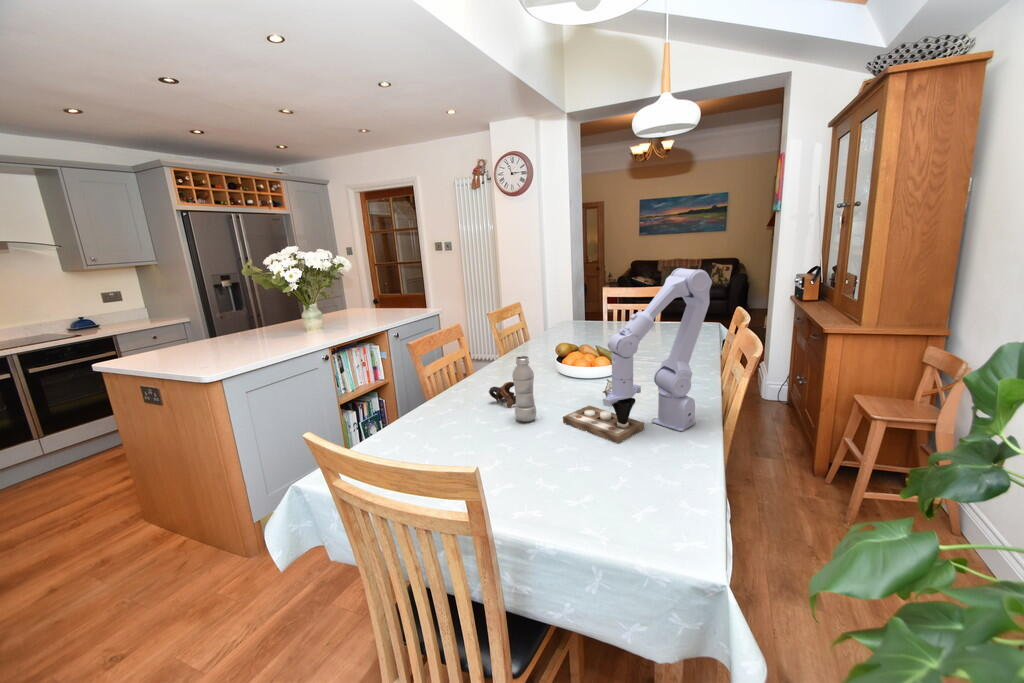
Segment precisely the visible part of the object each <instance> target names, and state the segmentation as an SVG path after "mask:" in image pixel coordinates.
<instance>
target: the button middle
mask: <svg viewBox="0 0 1024 683" xmlns="http://www.w3.org/2000/svg"><path fill="white" fill-rule="evenodd" d="M611 412H612V411H609V412H608V410H606V411H602V412H600V420H602V421H605V422H608V421H610V420H611Z"/></svg>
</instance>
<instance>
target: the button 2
mask: <svg viewBox="0 0 1024 683" xmlns="http://www.w3.org/2000/svg"><path fill="white" fill-rule="evenodd" d="M617 426H620V427H623V428H625V427H627V426H629V423H628V422H627V423H626V424H621V423H618V422H617Z"/></svg>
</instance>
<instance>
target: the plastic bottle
mask: <svg viewBox="0 0 1024 683" xmlns="http://www.w3.org/2000/svg"><path fill="white" fill-rule="evenodd" d="M515 364H516V366H515V367H514V369H513V370H512V375H511V377H512V382H514V386H513V387H514V395H515V396H516V404H515V406H514V415H515V418H516V419H517V421H519V422H523V423H525V422H531V421H534V420H535V419H536V417H537V413H538V412H537V407H536V403H535V397H534V380H535V372H534V370H533V369H532V367H530V365H529V364H530V360H529V356H527V355H520V356H516V358H515Z"/></svg>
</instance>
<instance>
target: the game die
mask: <svg viewBox="0 0 1024 683" xmlns="http://www.w3.org/2000/svg"><path fill="white" fill-rule="evenodd" d="M606 381H607V382H606V386H605V389H604V391H602V394H604V395H605V397H607V396H608V394H609V393H610V392H609V390H610V389H612V380H610V379H608V378H607V379H606Z"/></svg>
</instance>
